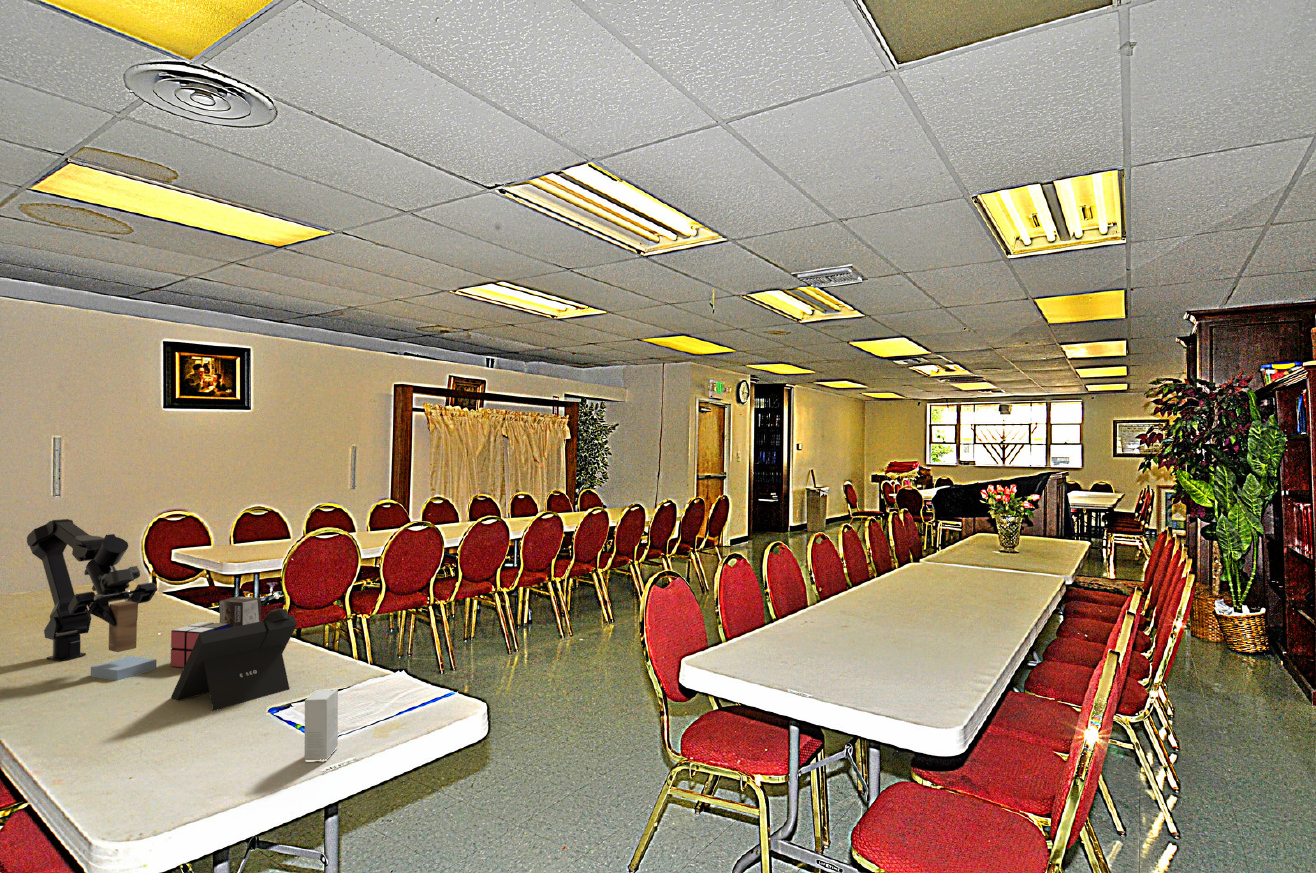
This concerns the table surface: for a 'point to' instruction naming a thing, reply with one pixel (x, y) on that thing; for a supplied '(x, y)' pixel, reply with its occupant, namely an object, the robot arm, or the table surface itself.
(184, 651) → the puzzle cube
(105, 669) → the blue block
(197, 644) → the office phone
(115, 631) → the walnut post
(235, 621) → the coffee box
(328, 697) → the skincare box
